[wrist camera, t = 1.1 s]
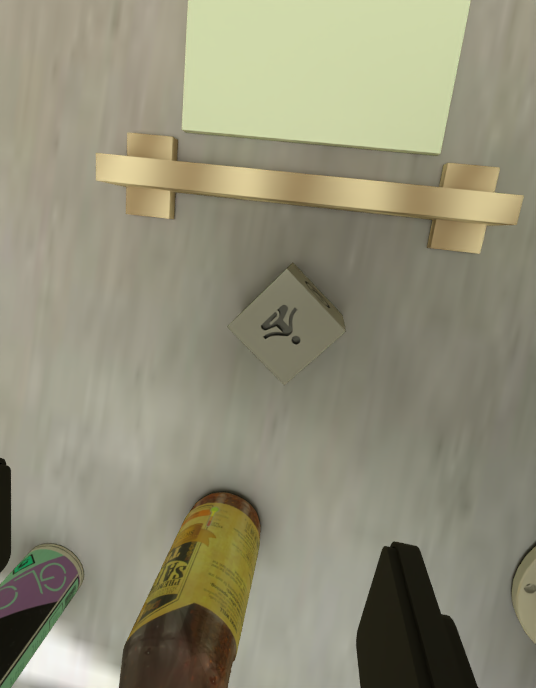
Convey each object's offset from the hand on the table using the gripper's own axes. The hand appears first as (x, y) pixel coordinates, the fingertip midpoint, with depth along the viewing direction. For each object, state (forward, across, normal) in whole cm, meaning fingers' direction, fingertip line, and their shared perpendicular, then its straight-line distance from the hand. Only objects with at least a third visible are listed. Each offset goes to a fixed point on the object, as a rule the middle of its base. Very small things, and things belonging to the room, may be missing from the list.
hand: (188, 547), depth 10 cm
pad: (+21, 0, -18) cm, 28 cm away
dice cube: (+21, -1, -2) cm, 22 cm away
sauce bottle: (+21, +1, +16) cm, 27 cm away
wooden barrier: (+21, 0, -10) cm, 23 cm away
